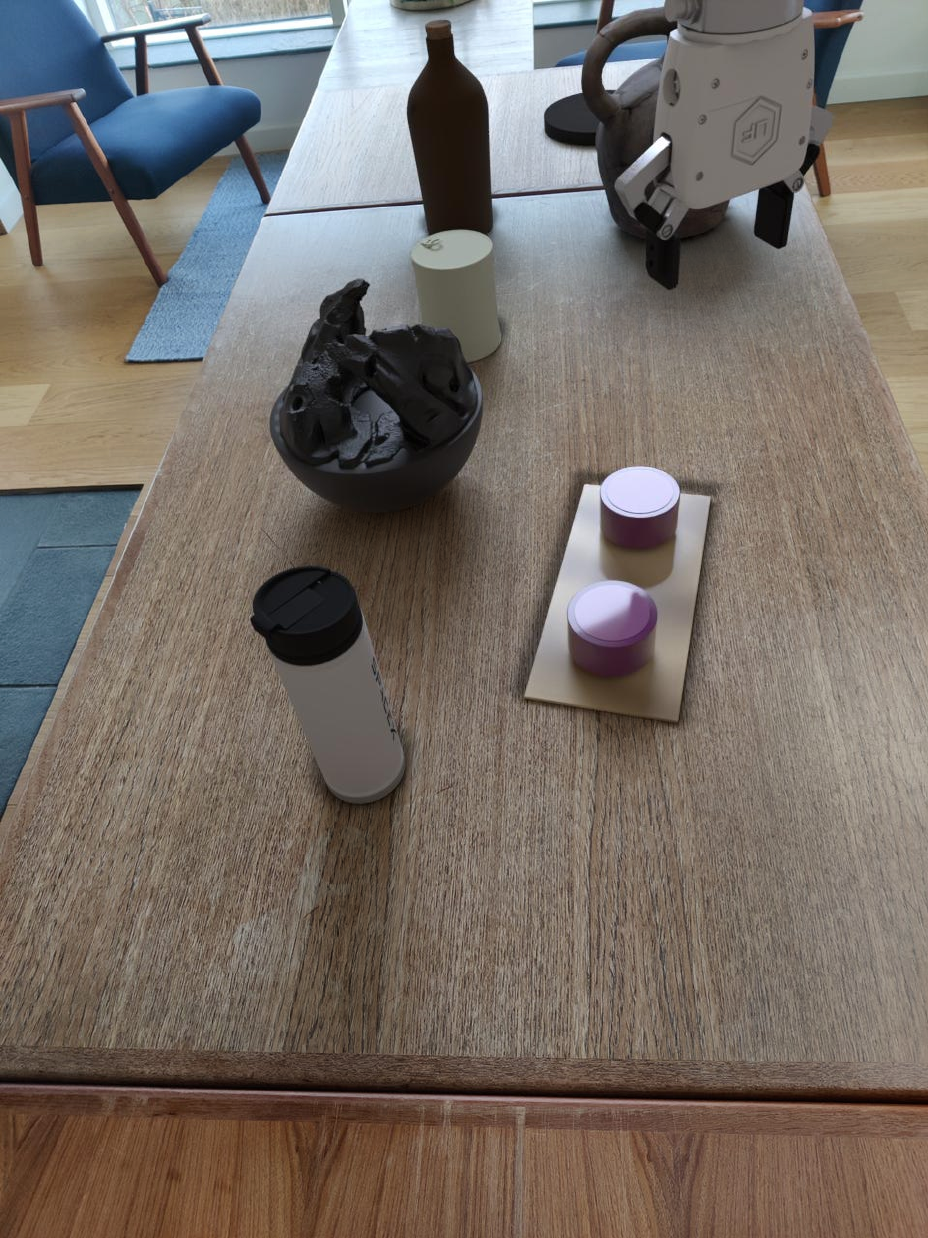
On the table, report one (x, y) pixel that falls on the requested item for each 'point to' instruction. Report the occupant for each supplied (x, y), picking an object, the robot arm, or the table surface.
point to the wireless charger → (571, 121)
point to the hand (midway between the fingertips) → (716, 261)
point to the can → (459, 289)
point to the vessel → (632, 118)
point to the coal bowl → (376, 409)
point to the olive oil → (450, 139)
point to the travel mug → (331, 679)
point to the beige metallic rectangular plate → (654, 570)
